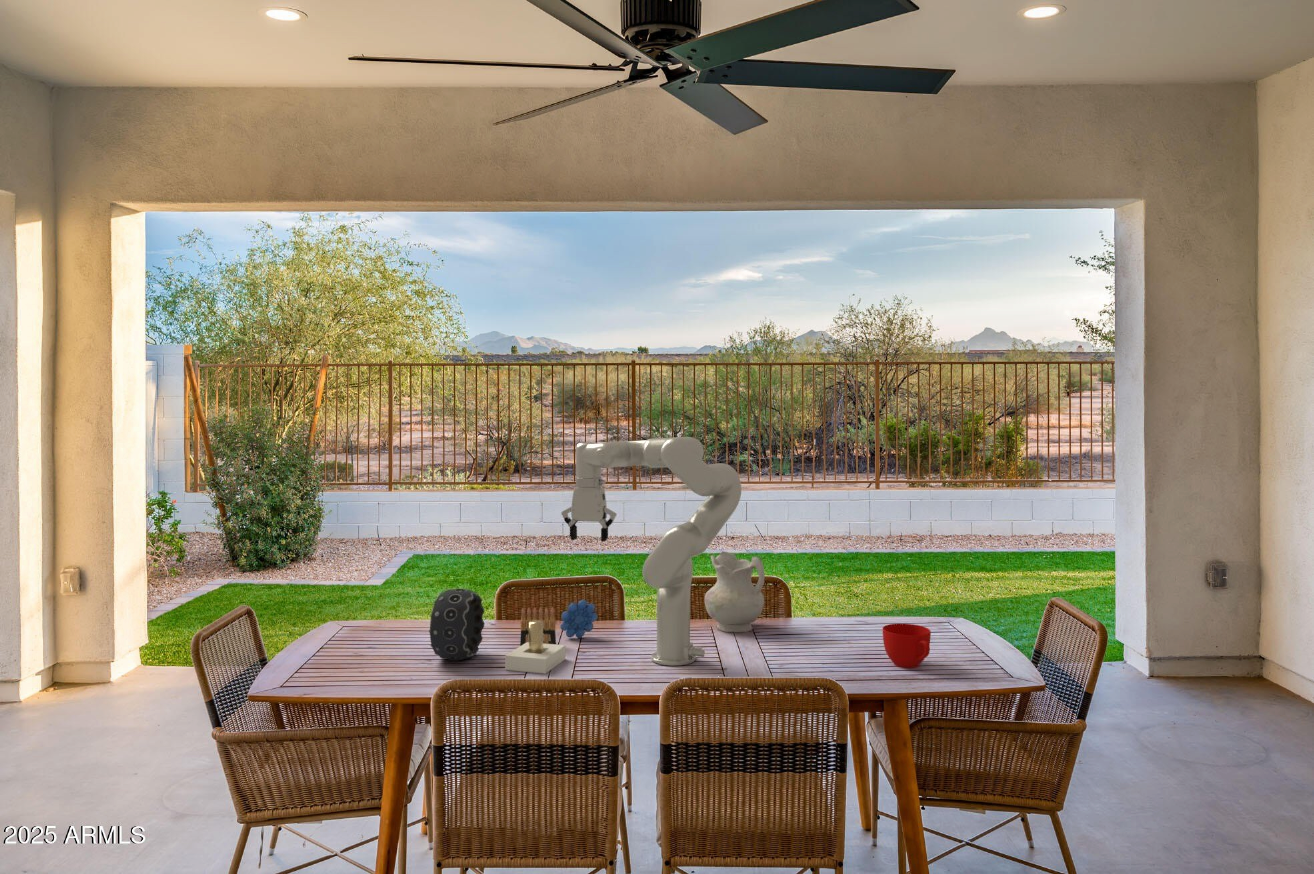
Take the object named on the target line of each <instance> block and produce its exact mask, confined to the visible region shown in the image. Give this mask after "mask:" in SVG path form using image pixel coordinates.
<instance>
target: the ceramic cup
mask: <svg viewBox="0 0 1314 874" xmlns="http://www.w3.org/2000/svg"><path fill="white" fill-rule="evenodd" d="M931 633H932V632H931V629H929V628H927V627H925V626H923V625H918V624H912V623H891V624H886V625H884V626H882V642H883V647H884V650H885V653H886V655H887V656H888V658H889V659H890V661H891V662H892V663H893V665H895V666H896V667H899V668H903V669H905V668H906V669H914V668H918V667H919V665H921V663H922V662H923V661H925V659H926V658H927V657H928V656H929V654H930V651H931V647H930V646H931V645H930V644H931Z"/></svg>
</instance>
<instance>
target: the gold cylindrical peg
mask: <svg viewBox="0 0 1314 874" xmlns="http://www.w3.org/2000/svg"><path fill="white" fill-rule="evenodd" d="M543 621H544V620H543ZM543 621H539V619H537V620H534V621H533V620H532V621H530V622H529V653H537V654H541V653H543Z"/></svg>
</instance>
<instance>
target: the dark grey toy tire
mask: <svg viewBox="0 0 1314 874" xmlns="http://www.w3.org/2000/svg"><path fill="white" fill-rule="evenodd" d="M482 602H483V598H482V597H481V596H480V595H479V593H478V592H475V591H473V590H470V589H466V588H452V589H450V588H448V589H445V591H444V592H440V593H439V594H438V596H437V598H436V599H435V600H433V606H432V609H431V613H430V615H429V616H430V620H429V621H430V622H429V623H430V624H429V629H428V633H429V638H430V639H429V640H430V647H431V648H432V651H433V652H434V655H437V656H439V657H440V658H441V659H442V660H443V659H446V660H450V661H462V660H468V659H469V658H472V657H474V655H476V654H477V653H478V652H479V649H480V648H479V645H480V644H481V643H482V642H483V636H482V632H483V630H484V628H485V621H484V619H483V615H484V613H485V608H484V606H483V605H482Z"/></svg>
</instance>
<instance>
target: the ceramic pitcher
mask: <svg viewBox="0 0 1314 874" xmlns="http://www.w3.org/2000/svg"><path fill="white" fill-rule="evenodd" d="M710 561H711V563H712V566H713V568H714V570H715V572H716V582H715V584H714V585H713V586H712V587H711V588H710V589H708V591H706V593H705V594H704V604H705V610H706V612H707V614H708V615H709V617H710V618H711V619H712V620H713V621H715V622H717V623H718V624H717V626H716V629H718V630H719V631H721V632H724V633H746V632H749V631H753V626H752V625H751V623H754V622H755V621H756V620H758V618H759V617H760V615H761V614H762V612H763V609H764V605H765V599H764V598H765V597H764V593H762V589H763V586H764V584H765V567H764V564H763V561H762V558H761V557H759V556H751V561H749V560H748V559H744V558H741V559H740V558H739V559H738V558H737V557H736V555H735V553H730V552H728V551H721V552H719V553H718V555H717V556H716V557H715V556H714V555H710ZM754 569H756V570H757V573H758V574H757V575H758V579H757V582H756V584H755V585H754V584H753V582H752V576H753V572H754Z"/></svg>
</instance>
